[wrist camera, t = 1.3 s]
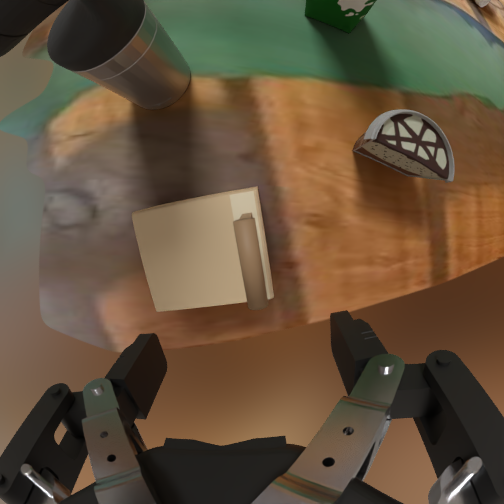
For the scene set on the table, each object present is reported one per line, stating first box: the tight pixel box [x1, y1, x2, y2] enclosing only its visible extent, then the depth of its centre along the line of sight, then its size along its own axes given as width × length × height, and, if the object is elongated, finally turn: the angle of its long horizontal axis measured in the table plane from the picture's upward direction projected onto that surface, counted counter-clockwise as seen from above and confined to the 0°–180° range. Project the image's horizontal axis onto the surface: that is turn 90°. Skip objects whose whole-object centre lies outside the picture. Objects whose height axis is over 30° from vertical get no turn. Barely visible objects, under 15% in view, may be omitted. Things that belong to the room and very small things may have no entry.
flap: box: [132, 190, 272, 312], centre depth 26 cm, size 12×14×7 cm
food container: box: [352, 110, 454, 182], centre depth 28 cm, size 12×6×10 cm, turn 73°
